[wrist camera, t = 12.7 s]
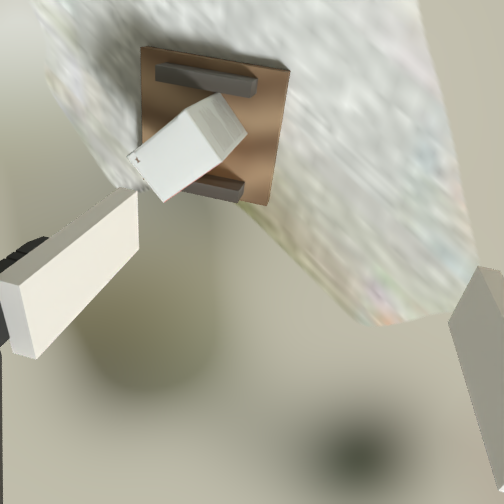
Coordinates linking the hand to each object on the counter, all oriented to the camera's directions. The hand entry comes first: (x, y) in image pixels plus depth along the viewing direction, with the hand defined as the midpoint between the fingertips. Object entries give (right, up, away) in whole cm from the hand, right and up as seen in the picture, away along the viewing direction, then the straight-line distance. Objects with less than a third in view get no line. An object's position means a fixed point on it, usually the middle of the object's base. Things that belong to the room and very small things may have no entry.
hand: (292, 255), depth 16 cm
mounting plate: (-6, +15, +31) cm, 35 cm away
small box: (-7, +14, +30) cm, 33 cm away
